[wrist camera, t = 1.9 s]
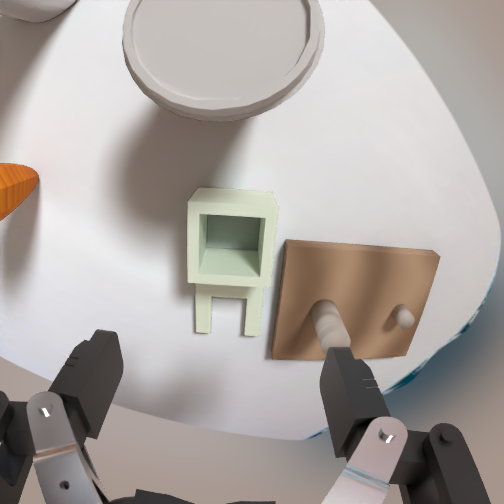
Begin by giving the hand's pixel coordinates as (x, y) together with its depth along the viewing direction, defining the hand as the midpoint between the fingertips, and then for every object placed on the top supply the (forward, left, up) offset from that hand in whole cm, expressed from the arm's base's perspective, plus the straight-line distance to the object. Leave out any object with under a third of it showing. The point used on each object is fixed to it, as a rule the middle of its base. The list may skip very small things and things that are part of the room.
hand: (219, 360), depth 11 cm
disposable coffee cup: (-1, +13, -17) cm, 21 cm away
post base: (+12, -7, -16) cm, 22 cm away
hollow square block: (0, -4, -16) cm, 17 cm away
